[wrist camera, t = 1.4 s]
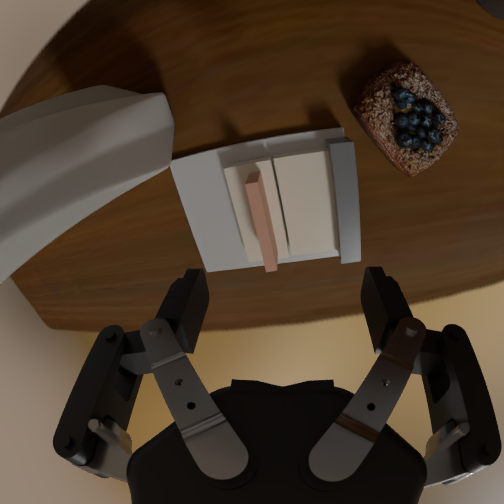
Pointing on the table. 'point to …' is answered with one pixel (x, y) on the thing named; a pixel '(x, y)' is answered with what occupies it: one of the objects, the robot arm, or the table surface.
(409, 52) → the table surface
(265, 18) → the table surface
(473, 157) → the table surface
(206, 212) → the white tray
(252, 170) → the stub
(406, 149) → the pastry
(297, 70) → the table surface
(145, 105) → the vase
